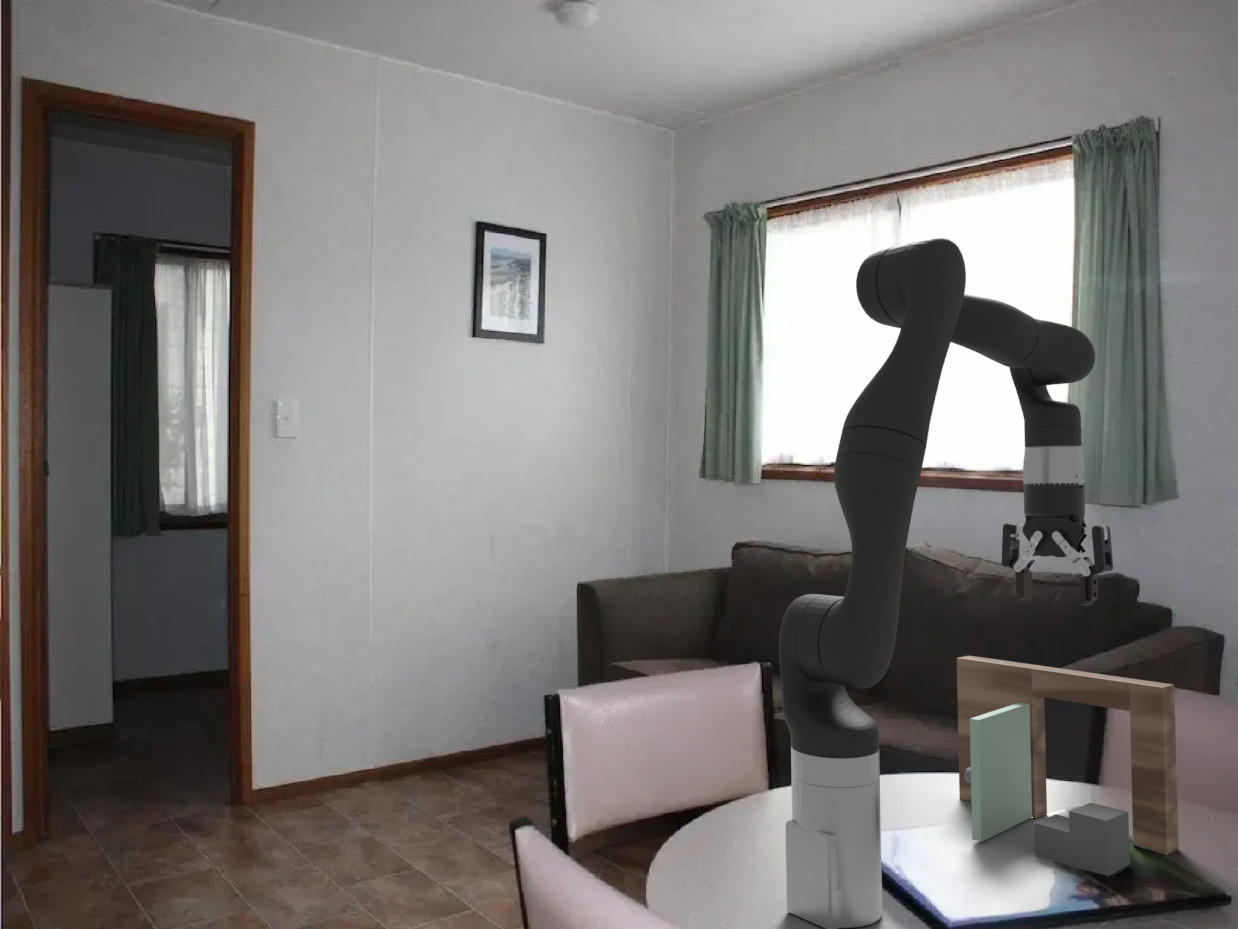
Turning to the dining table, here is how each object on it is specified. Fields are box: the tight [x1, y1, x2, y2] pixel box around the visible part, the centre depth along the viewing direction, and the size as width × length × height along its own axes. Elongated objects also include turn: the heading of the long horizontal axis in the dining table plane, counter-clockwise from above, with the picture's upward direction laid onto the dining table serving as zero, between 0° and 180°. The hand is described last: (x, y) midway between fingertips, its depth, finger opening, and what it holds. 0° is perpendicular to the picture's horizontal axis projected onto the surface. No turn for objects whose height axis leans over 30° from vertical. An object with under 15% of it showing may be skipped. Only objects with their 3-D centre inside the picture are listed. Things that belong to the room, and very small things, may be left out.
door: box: [965, 702, 1032, 843], centre depth 130 cm, size 2×14×15 cm, turn 132°
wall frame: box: [956, 655, 1179, 856], centre depth 133 cm, size 3×28×20 cm, turn 37°
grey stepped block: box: [1033, 802, 1131, 876], centre depth 120 cm, size 5×9×6 cm, turn 37°
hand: (1056, 602), depth 135 cm, fingers open, 8 cm apart
